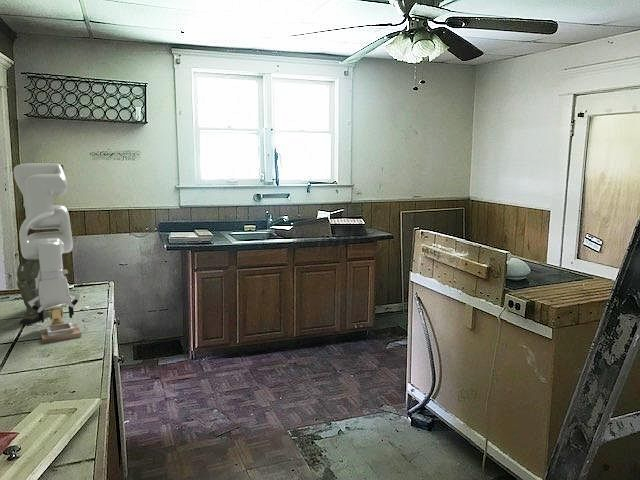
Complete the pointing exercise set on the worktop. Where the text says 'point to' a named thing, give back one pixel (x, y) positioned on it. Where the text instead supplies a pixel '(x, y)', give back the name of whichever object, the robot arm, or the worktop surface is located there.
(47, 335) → the fitting board
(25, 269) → the mechanical leg
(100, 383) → the worktop surface
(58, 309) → the cylinder
